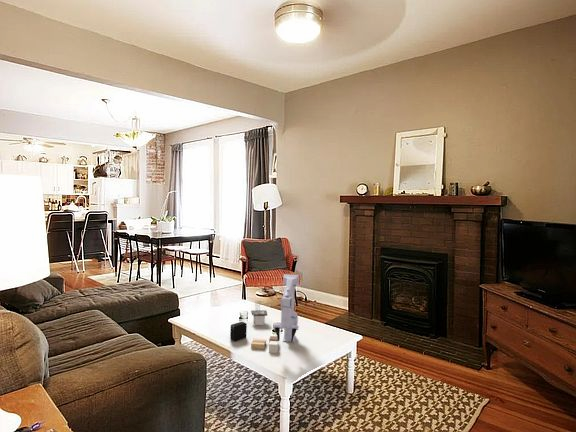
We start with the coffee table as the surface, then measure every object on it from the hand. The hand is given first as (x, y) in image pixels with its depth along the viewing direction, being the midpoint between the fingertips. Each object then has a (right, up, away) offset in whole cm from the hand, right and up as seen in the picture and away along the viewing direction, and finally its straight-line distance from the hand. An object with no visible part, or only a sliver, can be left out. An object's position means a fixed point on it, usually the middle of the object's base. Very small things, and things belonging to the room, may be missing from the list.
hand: (285, 340), depth 211 cm
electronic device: (-31, -8, +26) cm, 41 cm away
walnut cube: (-8, -9, +18) cm, 21 cm away
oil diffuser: (-20, -7, +56) cm, 60 cm away
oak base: (-17, -9, +16) cm, 25 cm away
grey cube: (-7, -9, +10) cm, 15 cm away
